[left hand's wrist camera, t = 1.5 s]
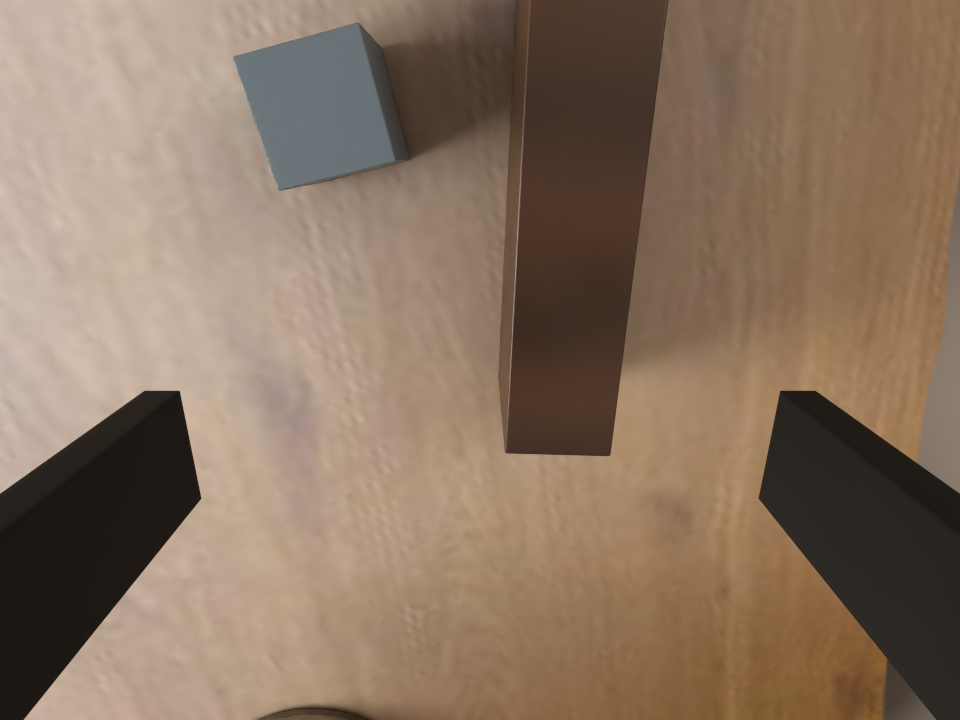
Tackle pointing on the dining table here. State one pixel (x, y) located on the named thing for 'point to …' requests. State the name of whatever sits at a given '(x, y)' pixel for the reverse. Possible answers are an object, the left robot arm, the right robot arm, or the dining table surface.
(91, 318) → the dining table surface
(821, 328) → the dining table surface
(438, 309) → the dining table surface
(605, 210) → the bar
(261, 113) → the block
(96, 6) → the dining table surface
